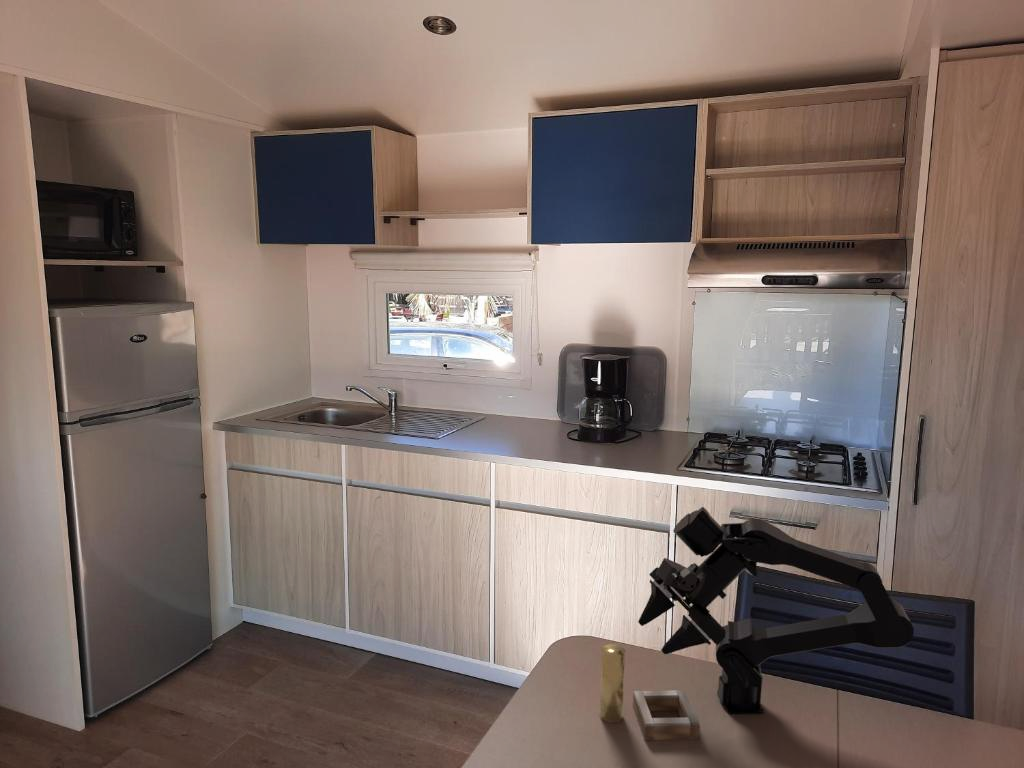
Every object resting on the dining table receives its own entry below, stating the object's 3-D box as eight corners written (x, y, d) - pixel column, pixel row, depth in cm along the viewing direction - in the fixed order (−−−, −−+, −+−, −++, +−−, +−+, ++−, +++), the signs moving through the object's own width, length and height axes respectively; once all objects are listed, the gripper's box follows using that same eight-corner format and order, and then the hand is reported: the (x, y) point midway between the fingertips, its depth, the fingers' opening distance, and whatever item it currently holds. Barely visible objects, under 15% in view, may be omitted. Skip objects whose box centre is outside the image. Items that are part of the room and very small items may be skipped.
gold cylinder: (620, 708, 129) (622, 643, 127) (624, 722, 125) (627, 656, 123) (597, 708, 129) (600, 644, 127) (601, 723, 125) (604, 656, 123)
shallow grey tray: (683, 705, 130) (684, 689, 130) (699, 739, 121) (700, 722, 121) (632, 706, 130) (633, 690, 129) (644, 740, 121) (645, 724, 120)
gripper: (663, 525, 133) (602, 584, 133) (716, 570, 116) (646, 639, 115) (697, 562, 137) (638, 620, 136) (754, 611, 119) (686, 679, 119)
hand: (650, 637), depth 127 cm, fingers open, 9 cm apart
